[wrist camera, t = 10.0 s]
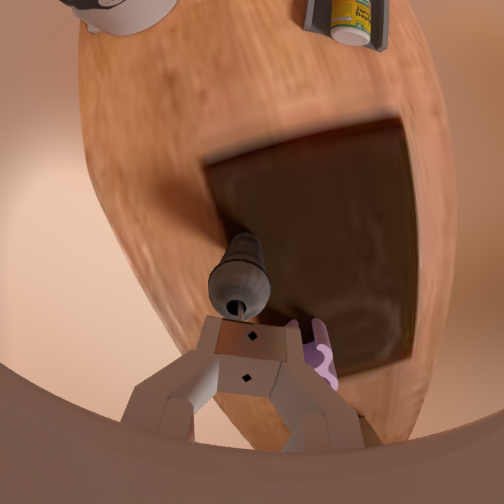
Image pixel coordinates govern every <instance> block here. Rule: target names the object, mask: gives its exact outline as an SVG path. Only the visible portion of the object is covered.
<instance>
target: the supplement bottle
mask: <svg viewBox="0 0 504 504" xmlns="http://www.w3.org/2000/svg"><path fill="white" fill-rule="evenodd" d="M370 34H371V4H370V2H369V0H332V14H331V36H332V38H333V39H335V40H336V41H338V42H341V43H344V44H348V45H354V46H362V45H366V44H368V43H369V41H370Z"/></svg>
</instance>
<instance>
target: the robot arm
mask: <svg viewBox="0 0 504 504" xmlns="http://www.w3.org/2000/svg"><path fill="white" fill-rule="evenodd" d="M60 1H61V2H63V3H64V4H65V5H67V6H69V7H72V8H73V12H72V14H73V15H74V16H76V17H77V18H79V19H80V20H82V21H84V22H86V23H87V30H88V31H89V32H90V33H101V32H106V33H109V34H112V35H118V36H124V35H131V34H134V33H137V32H140V31H143V30H145V29H147V28H149V27H150V26H152V25H154V24H155V23H157V22H158V21H159V20H161V19H162V18H163V17H164V16H165V15H166V14H167V13H168V12H169V11H170V10H171V9H172V8H173V7H174V5H175V4H176V2H177V0H60ZM217 391H218V392H226V393H234V394H243V395H250V396H258V397H266V398H269V400H270V401H271V403H272V404H273V406H274V407H275V409H276V411H277V412H278V414H279V415H280V417H281V418H282V420H283V421H284V423H285V424H286V426H287V427H288V429H289V430H290V432H291V433H292V434H291V436H290V438H289V439H288V441H287V442H286V444H285V445H284V447H283V448H282V450H281V451H264V450H250V449H240V448H231V447H223V446H217V445H210V444H204V443H198V442H195V435H194V414H196V413H197V412H198V410H200V409H201V408H202V407H203V406H204V405H205V404H206V403H207V402H208V401H209V400H210V399H211V398H212V397H213V396H214V395H215V394H216V393H217ZM0 504H504V409H502V410H500V411H498V412H495V413H493V414H491V415H488V416H486V417H483V418H481V419H478V420H476V421H473V422H470V423H468V424H465V425H462V426H459V427H456V428H453V429H450V430H446V431H443V432H440V433H436V434H432V435H429V436H425V437H421V438H416V439H412V440H407V441H403V442H397V443H392V444H386V445H380V446H373V447H366V448H365V447H364V442H363V437H362V432H361V428H360V423H359V419H358V415H357V412H356V411H355V410H354V409H353V408H352V407H351V406H350V405H349V404H348V403H347V402H346V401H345V400H344V399H343V398H342V397H341V396H340V395H339V394H338V393H337V392H336V391H335V390H334V389H333V388H332V387H331V386H330V385H329V384H328V383H327V382H326V381H325V380H324V379H323V378H322V377H321V376H320V375H319V374H318V373H317V372H316V371H315V370H314V369H313V368H312V366H311V365H309V364H305V360H304V353H303V346H302V339H301V332H300V329H299V328H297V327H285V326H284V327H282V326H273V325H265V324H257V323H250V322H244V321H238V320H232V319H226V318H220V317H214V316H209V315H207V316H206V318H205V321H204V324H203V328H202V331H201V335H200V338H199V342H198V345H197V349H196V350H192V349H191V350H190V351H188V352H187V353H185V354H184V355H182V356H181V357H179V358H178V359H177V360H175V361H174V362H172V363H170V364H169V365H167V366H166V367H165V368H163V369H161V370H160V371H158V372H157V373H155V374H154V375H152V376H151V377H149V378H147V379H146V380H144V381H143V382H141V383H140V384H138V385H137V386H135V388H134V390H133V392H132V395H131V397H130V399H129V402H128V404H127V407H126V409H125V412H124V414H123V416H122V419H121V421H120V422H118V421H115V420H112V419H110V418H107V417H104V416H102V415H99V414H97V413H94V412H92V411H89V410H87V409H84V408H82V407H80V406H77V405H75V404H73V403H71V402H68V401H66V400H64V399H62V398H60V397H58V396H56V395H54V394H52V393H50V392H48V391H46V390H44V389H42V388H41V387H39V386H37V385H35V384H33V383H32V382H30V381H28V380H27V379H25V378H23V377H22V376H20V375H18V374H17V373H15V372H14V371H12V370H11V369H9V368H7V367H6V366H4V365H3V364H1V363H0Z"/></svg>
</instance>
